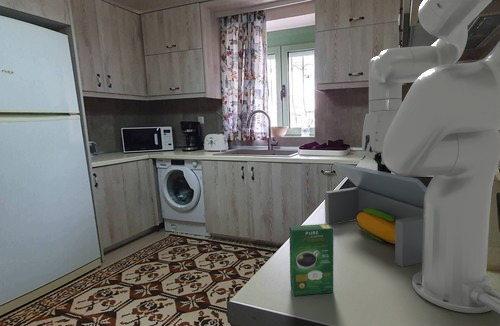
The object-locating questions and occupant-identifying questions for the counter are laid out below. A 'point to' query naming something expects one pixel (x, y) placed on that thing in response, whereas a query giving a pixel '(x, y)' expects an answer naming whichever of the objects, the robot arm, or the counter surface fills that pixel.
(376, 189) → the cover
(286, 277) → the counter surface
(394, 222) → the corn
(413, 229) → the grey bridge shelf
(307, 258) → the coffee box
